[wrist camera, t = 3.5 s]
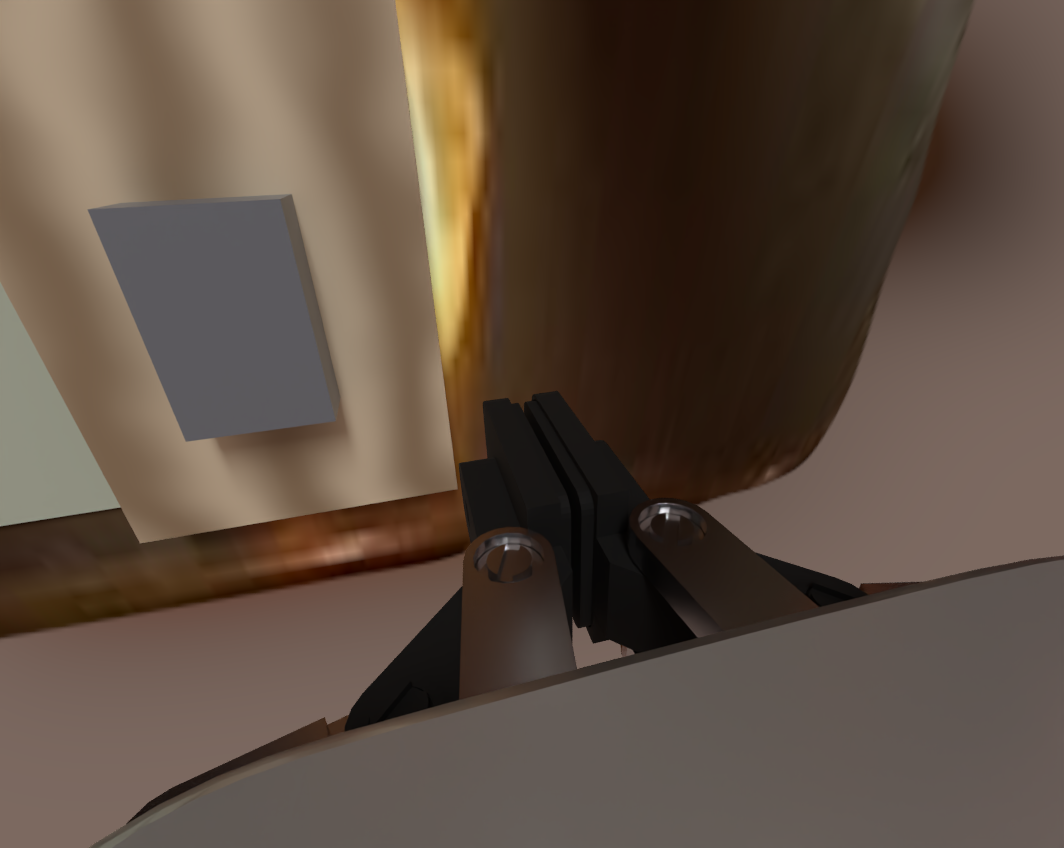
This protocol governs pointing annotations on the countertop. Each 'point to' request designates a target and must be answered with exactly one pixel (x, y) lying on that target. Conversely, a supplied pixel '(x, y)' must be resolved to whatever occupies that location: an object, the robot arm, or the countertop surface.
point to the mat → (40, 438)
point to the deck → (216, 172)
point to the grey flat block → (224, 310)
